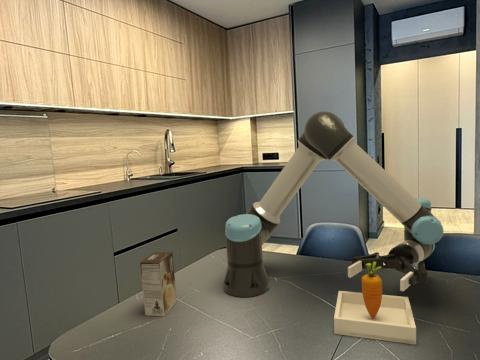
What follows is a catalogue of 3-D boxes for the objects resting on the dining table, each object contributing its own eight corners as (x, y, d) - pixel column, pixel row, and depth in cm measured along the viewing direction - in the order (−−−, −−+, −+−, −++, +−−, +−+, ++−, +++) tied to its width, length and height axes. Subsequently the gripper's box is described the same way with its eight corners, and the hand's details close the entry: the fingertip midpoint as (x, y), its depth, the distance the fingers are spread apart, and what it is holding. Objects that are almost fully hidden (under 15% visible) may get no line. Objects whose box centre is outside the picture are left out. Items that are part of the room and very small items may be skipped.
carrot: (374, 311, 92) (372, 257, 90) (387, 320, 87) (386, 263, 86) (358, 315, 90) (356, 260, 89) (371, 324, 86) (369, 266, 84)
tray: (334, 333, 85) (333, 318, 84) (339, 304, 99) (338, 290, 99) (416, 344, 78) (416, 328, 78) (408, 311, 93) (408, 297, 93)
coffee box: (158, 301, 108) (153, 251, 106) (177, 302, 107) (173, 251, 105) (144, 316, 99) (139, 261, 97) (165, 317, 98) (160, 262, 96)
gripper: (453, 278, 94) (427, 307, 79) (365, 259, 111) (330, 280, 97) (453, 251, 93) (427, 275, 78) (365, 237, 111) (330, 254, 96)
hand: (373, 278), depth 87 cm, fingers open, 13 cm apart
